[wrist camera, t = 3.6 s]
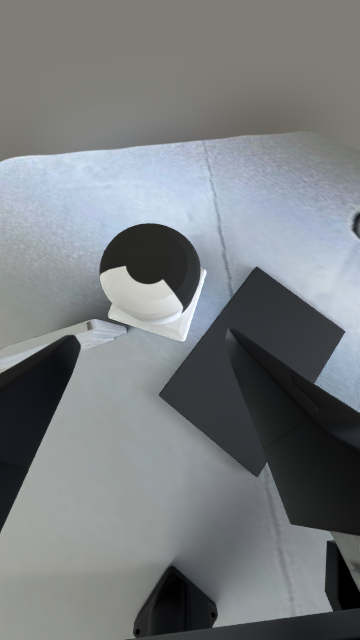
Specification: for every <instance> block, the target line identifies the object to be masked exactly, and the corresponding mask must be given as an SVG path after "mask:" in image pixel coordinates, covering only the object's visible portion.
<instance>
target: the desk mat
mask: <svg viewBox="0 0 360 640" xmlns="http://www.w3.org/2000/svg"><path fill="white" fill-rule="evenodd" d="M228 328H236V329H238V330H239V331H240V332H242V333H243V334H245V335H246V336H247V337H249V338H250V339H252V340H253V341H254V342H256V343H257V344H258V345H260V346H261V347H263V348H264V349H265V350H267V351H268V352H270V353H271V354H272V355H274V356H275V357H277V358H278V359H279V360H281V361H282V362H284V363H285V364H286V365H288V366H289V367H290V368H292V369H293V370H295V371H296V372H298V373H299V374H300V375H302V376H303V377H305V378H306V379H308V380H309V381H310V382H312V383H313V384H314V383H315V381H316V380H317V378H318V376H319V375H320V373H321V371H322V370H323V368H324V366H325V365H326V363H327V361H328V360H329V358H330V356H331V355H332V353H333V351H334V350H335V348H336V346H337V345H338V343H339V341H340V340H341V338H342V336H343V335H344V333H345V331H344V330H342V329H341V328H340V327H338V326H337V325H336V324H334V323H333V322H332V321H330V320H329V319H328V318H326V317H325V316H323V315H322V314H321V313H319V312H318V311H317V310H315V309H314V308H313V307H311V306H310V305H309V304H307V303H306V302H305V301H303V300H302V299H300V298H299V297H298V296H296V295H295V294H294V293H292V292H291V291H290V290H288V289H287V288H286V287H284V286H283V285H281V284H280V283H279V282H277V281H276V280H275V279H273V278H272V277H271V276H269V275H268V274H267V273H265V272H264V271H262V270H261V269H260V268H258V267H256V268H255V269H254V270H253V271H252V273H251V274H250V275H249V277H248V278H247V279H246V281H245V282H244V283H243V284H242V286H241V287H240V288H239V290H238V291H237V292H236V294H235V295H234V296H233V298H232V299H231V300H230V302H229V303H228V304H227V306H226V307H225V308H224V309H223V311H222V312H221V313H220V315H219V316H218V317H217V319H216V320H215V321H214V323H213V324H212V325H211V327H210V328H209V329H208V331H207V332H206V333H205V334H204V336H203V337H202V338H201V340H200V341H199V342H198V344H197V345H196V346H195V348H194V349H193V350H192V352H191V353H190V354H189V356H188V357H187V358H186V359H185V361H184V362H183V363H182V365H181V366H180V367H179V369H178V370H177V371H176V373H175V374H174V375H173V377H172V378H171V379H170V381H169V382H168V383H167V384H166V386H165V387H164V388H163V390H162V391H161V392H160V394H159V396H160V397H161V398H162V399H163V400H165V401H166V402H167V403H168V404H169V405H171V406H172V407H173V408H174V409H175V410H177V411H178V412H179V413H180V414H181V415H183V416H184V417H185V418H186V419H187V420H189V421H190V422H191V423H192V424H193V425H195V426H196V427H197V428H198V429H199V430H201V431H202V432H203V433H204V434H205V435H207V436H208V437H209V438H210V439H211V440H213V441H214V442H215V443H216V444H217V445H219V446H220V447H221V448H222V449H223V450H225V451H226V452H227V453H228V454H229V455H231V456H232V457H233V458H234V459H235V460H237V461H238V462H239V463H240V464H241V465H243V466H244V467H245V468H246V469H247V470H249V471H250V472H251V473H252V474H253V475H255V476H256V477H258V476H259V474H260V473H261V471H262V469H263V468H264V466H265V464H266V463H267V460H266V457H265V454H264V452H263V449H262V446H261V443H260V441H259V438H258V435H257V433H256V430H255V427H254V425H253V422H252V419H251V417H250V414H249V411H248V408H247V406H246V403H245V400H244V398H243V395H242V392H241V390H240V387H239V384H238V382H237V379H236V376H235V374H234V371H233V368H232V365H231V362H230V358H229V354H228V350H227V346H226V342H225V337H226V333H227V329H228Z"/></svg>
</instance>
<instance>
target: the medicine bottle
mask: <svg viewBox="0 0 360 640" xmlns="http://www.w3.org/2000/svg"><path fill="white" fill-rule="evenodd" d="M205 276H206V270H205V269H204V268H201V267H200V261H199V257H198V255H197V252H196V250H195V248H194V247H193V245H192V244H191V243H190V241H189V240H188V239H187V238H186V237H185V236H183V235H182V234H181V233H179V232H178V231H176V230H174V229H172V228H170V227H167V226H164V225H160V224H151V223H147V224H139V225H135V226H132V227H130V228H127V229H126V230H124V231H122V232H121V233H119V234H118V235H117V236H116V237H115V238H114V239H113V240H112V241H111V242H110V243H109V245H108V246H107V248H106V249H105V251H104V254H103V256H102V259H101V263H100V281H101V285H102V288H103V290H104V292H105V294H106V296H107V297H108V299H109V300H110V301H111V302H112V305H111V308H110V310H109V313H108V317H109V318H110V319H113V320H116V321H119V322H122V323H125V324H128V325H131V326H134V327H137V328H140V329H143V330H146V331H149V332H152V333H155V334H158V335H161V336H165V337H168V338H171V339H174V340H177V341H180V342H183V341H185V339H186V336H187V333H188V330H189V327H190V323H191V320H192V317H193V314H194V311H195V308H196V304H197V301H198V298H199V295H200V292H201V289H202V285H203V282H204V279H205Z"/></svg>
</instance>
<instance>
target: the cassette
mask: <svg viewBox="0 0 360 640" xmlns="http://www.w3.org/2000/svg"><path fill="white" fill-rule="evenodd" d="M126 331H127V330H126V328H125V327H124V326H120V325H116V324H113V323H109V322H105V321H101V320H97V319H91V320H88V321H85V322H82V323H79V324H76V325H73V326H69V327H66V328H63V329H60V330H57V331H54V332H51V333H47V334H44V335H41V336H38V337H35V338H32V339H29V340H25V341H22V342H19V343H16V344H13V345H10V346H6V347H3V348H0V369H9V368H11V367H12V366H14V365H16V364H17V363H19V362H21V361H22V360H24V359H26V358H28V357H29V356H31V355H33V354H34V353H36V352H38V351H39V350H41V349H43V348H44V347H46V346H48V345H50V344H51V343H53V342H55V341H56V340H58V339H60V338H61V337H63V336H65V335H75V336H76V338H77V339H78V341H79V342H80V344H81V349H80V351H83V350H86V349H89V348H92V347H95V346H98V345H101V344H104V343H107V342H110V341H113V340H114V338H115V337H117V336H119V335H122V334H125V333H127V332H126Z"/></svg>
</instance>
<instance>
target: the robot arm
mask: <svg viewBox="0 0 360 640" xmlns="http://www.w3.org/2000/svg"><path fill="white" fill-rule="evenodd" d="M225 342H226V346H227V350H228V354H229V358H230V362H231V365H232V368H233V371H234V374H235V376H236V379H237V382H238V384H239V387H240V390H241V392H242V395H243V398H244V400H245V403H246V406H247V408H248V411H249V414H250V417H251V419H252V422H253V425H254V427H255V430H256V433H257V435H258V438H259V441H260V443H261V446H262V449H263V452H264V454H265V457H266V460H267V462H268V465H269V468H270V470H271V473H272V476H273V479H274V481H275V484H276V487H277V489H278V492H279V495H280V497H281V500H282V503H283V505H284V508H285V511H286V513H287V516H288V519H289V521H290V523H291V524H292V525H298V526H304V527H309V528H315V529H321V530H327V531H330V532H331V534H332V536H333V538H334V540H332V541H327V553H326V576H325V592H326V595H327V597H328V600H329V602H330V605H331V607H332V610H333V612H327V613H319V614H312V615H305V616H297V617H290V618H282V619H275V620H268V621H260V622H253V623H245V624H238V625H231V626H223V627H216V628H212V626H213V624H214V623H215V621H216V619H217V617H218V613H217V607H216V604H215V603H214V602H213V601H212V600H211V599H210V598H209V597H207V596H206V595H205V594H204V593H203V592H202V591H201V590H200V589H199V588H198V587H196V586H195V585H194V584H193V583H192V582H191V581H190V580H189V579H188V578H187V577H185V576H184V575H183V574H182V573H181V572H180V571H179V570H178V569H177V568H176V567H174V566H170V567H169V568H168V570H167V571H166V573H165V575H164V576H163V578H162V579H161V581H160V582H159V584H158V586H157V587H156V589H155V590H154V592H153V594H152V595H151V597H150V598H149V600H148V601H147V603H146V605H145V606H144V608H143V609H142V611H141V612H140V614H139V616H138V617H137V619H136V620H135V623H134V630H133V634H134V636H135V637H136V638H134V639H127V640H360V413H359V412H357V411H356V410H354V409H353V408H351V407H349V406H348V405H346V404H345V403H343V402H342V401H340V400H338V399H337V398H335V397H334V396H332V395H331V394H329V393H327V392H326V391H324V390H323V389H321V388H320V387H318V386H317V385H315V384H313V383H312V382H310V381H309V380H308V379H306V378H305V377H303V376H302V375H300V374H299V373H298V372H296V371H295V370H293V369H292V368H290V367H289V366H288V365H286V364H285V363H284V362H282V361H281V360H279V359H278V358H277V357H275V356H274V355H272V354H271V353H270V352H268V351H267V350H265V349H264V348H263V347H261V346H260V345H258V344H257V343H256V342H254V341H253V340H252V339H250V338H249V337H247V336H246V335H245V334H243V333H242V332H240V331H239V330H238V329H236V328H228V329H227V333H226V337H225ZM80 349H81V344H80V342H79V341H78V339H77V338H76V336H75V335H65V336H63V337H61V338H60V339H58V340H56V341H55V342H53V343H51V344H50V345H48V346H46V347H44V348H43V349H41V350H39V351H38V352H36V353H34V354H33V355H31V356H29V357H28V358H26V359H24V360H22V361H21V362H19V363H17V364H16V365H14V366H12V367H11V368H9V369H7V370H5V371H4V372H2V373H0V532H1V530H2V528H3V526H4V523H5V521H6V519H7V517H8V515H9V512H10V510H11V508H12V506H13V504H14V501H15V499H16V497H17V495H18V492H19V490H20V488H21V486H22V484H23V481H24V479H25V477H26V475H27V473H28V470H29V468H30V466H31V464H32V461H33V459H34V457H35V455H36V453H37V450H38V448H39V446H40V444H41V442H42V439H43V437H44V435H45V433H46V430H47V428H48V426H49V424H50V422H51V419H52V417H53V415H54V413H55V411H56V408H57V406H58V404H59V402H60V400H61V397H62V395H63V393H64V391H65V389H66V386H67V384H68V382H69V380H70V378H71V375H72V373H73V370H74V368H75V365H76V361H77V358H78V355H79V352H80Z"/></svg>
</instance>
